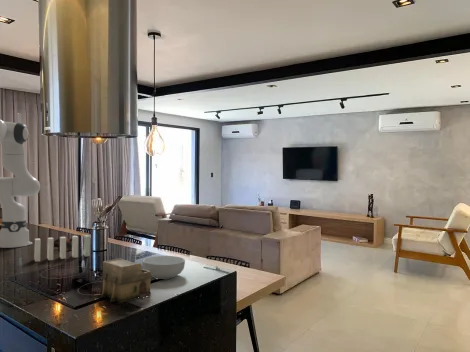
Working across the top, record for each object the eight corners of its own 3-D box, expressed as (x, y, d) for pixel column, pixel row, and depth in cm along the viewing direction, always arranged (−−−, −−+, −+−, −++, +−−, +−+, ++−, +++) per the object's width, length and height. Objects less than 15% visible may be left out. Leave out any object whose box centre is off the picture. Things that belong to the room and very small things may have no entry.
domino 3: (61, 259, 172) (61, 238, 172) (59, 257, 176) (60, 236, 176) (65, 258, 173) (66, 238, 173) (64, 256, 177) (64, 236, 177)
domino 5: (85, 256, 178) (85, 236, 178) (83, 254, 182) (83, 235, 182) (89, 256, 179) (90, 236, 179) (87, 254, 183) (87, 234, 183)
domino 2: (48, 260, 169) (48, 239, 169) (47, 258, 173) (47, 237, 173) (53, 259, 170) (53, 238, 170) (51, 257, 174) (52, 237, 174)
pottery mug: (59, 253, 186) (53, 239, 187) (54, 259, 192) (48, 245, 193) (81, 245, 194) (75, 231, 196) (76, 250, 201) (70, 237, 202)
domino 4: (73, 257, 175) (73, 237, 175) (71, 255, 179) (72, 235, 179) (77, 257, 176) (78, 237, 176) (76, 255, 180) (76, 235, 180)
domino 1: (35, 261, 166) (35, 240, 166) (34, 259, 170) (34, 238, 170) (40, 261, 167) (40, 239, 167) (39, 259, 171) (39, 238, 171)
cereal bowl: (193, 277, 143) (193, 260, 143) (157, 286, 132) (158, 266, 132) (168, 269, 155) (168, 253, 155) (134, 276, 143) (134, 259, 144)
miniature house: (119, 306, 111) (120, 269, 111) (96, 296, 120) (97, 262, 120) (158, 294, 122) (159, 261, 122) (134, 286, 131) (135, 255, 131)
